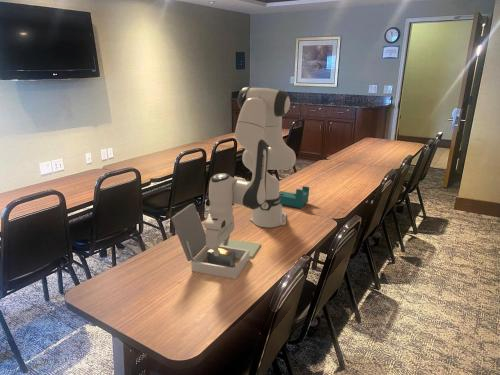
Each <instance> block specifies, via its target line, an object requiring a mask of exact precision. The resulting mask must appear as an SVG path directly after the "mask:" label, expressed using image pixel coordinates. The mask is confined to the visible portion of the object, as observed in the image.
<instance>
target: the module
mask: <svg viewBox="0 0 500 375" xmlns="http://www.w3.org/2000/svg"><path fill="white" fill-rule="evenodd" d="M218 250H219V251H220V254H219V256H214V251H213V249H210V250H209V251H207V258H206V259H207V263H209V264H215V265H220V266H226V267H232V268H234V267H235V266H236V258H235V251H231V250H226V249H221V248H218Z"/></svg>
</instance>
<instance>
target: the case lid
mask: <svg viewBox="0 0 500 375" xmlns="http://www.w3.org/2000/svg"><path fill="white" fill-rule="evenodd" d="M170 219H171V222H172V224H173V226H174V229H175V233H176V234H177V237H178V239H179V242H180V245H181V247H182V250H183V252H184V254H185V257H186V260H187V262H190V261H191V262H192V260H191V257H190V253H189V250H188V247H187V244H186V241H188V243H189V246H190V249H191V253H192V256H193V259H194V258H195V257H196V256H197V255H198V254H199V253H200V252H201V251H202V250H203V249H204V248H205V247H206V230H205V228H204V226H203V223H202V221H201V219H200V216H199V213H198V211H197V208H196V205H195V202H193V203H191V204H189V205H187V206H186V207H184V208H183V209H182V210H180V211H179V212H178V213H176V214H175V215H173V216H171V218H170Z"/></svg>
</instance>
